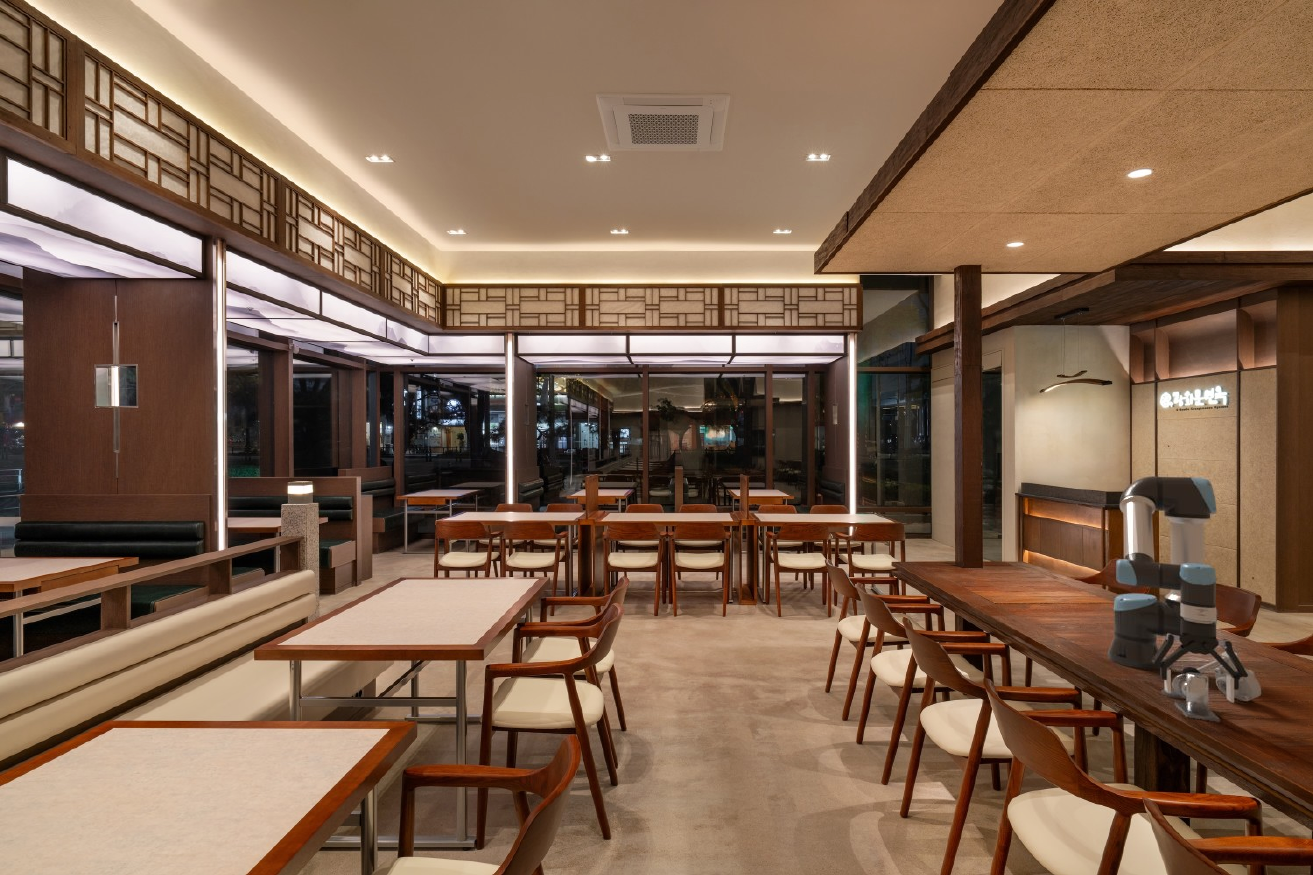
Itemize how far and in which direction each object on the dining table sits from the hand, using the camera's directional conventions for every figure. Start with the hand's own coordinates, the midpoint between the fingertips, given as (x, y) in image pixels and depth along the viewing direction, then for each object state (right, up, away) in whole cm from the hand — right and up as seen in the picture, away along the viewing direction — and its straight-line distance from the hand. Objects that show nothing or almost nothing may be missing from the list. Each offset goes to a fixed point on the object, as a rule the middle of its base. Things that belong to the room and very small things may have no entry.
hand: (1198, 695), depth 170 cm
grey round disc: (+4, -6, +13) cm, 15 cm away
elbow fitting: (0, -5, +2) cm, 6 cm away
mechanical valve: (+16, -7, +9) cm, 20 cm away
